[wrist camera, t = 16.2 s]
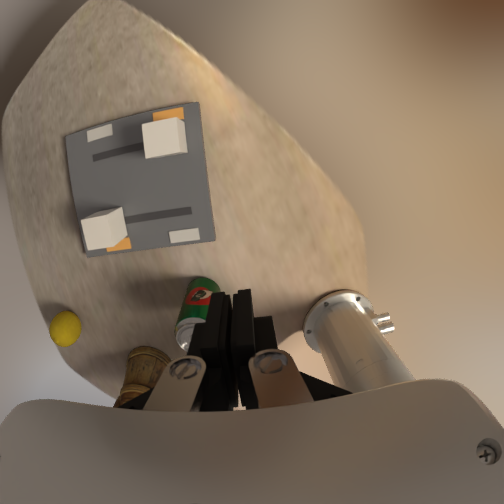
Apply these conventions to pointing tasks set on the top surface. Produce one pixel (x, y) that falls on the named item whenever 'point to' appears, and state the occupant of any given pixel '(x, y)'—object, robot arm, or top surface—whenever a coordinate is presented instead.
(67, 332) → the lemon
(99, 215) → the back slider
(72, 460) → the robot arm
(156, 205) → the switch panel
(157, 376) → the wooden mug
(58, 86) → the top surface
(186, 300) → the soda can
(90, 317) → the top surface
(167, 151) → the front slider
